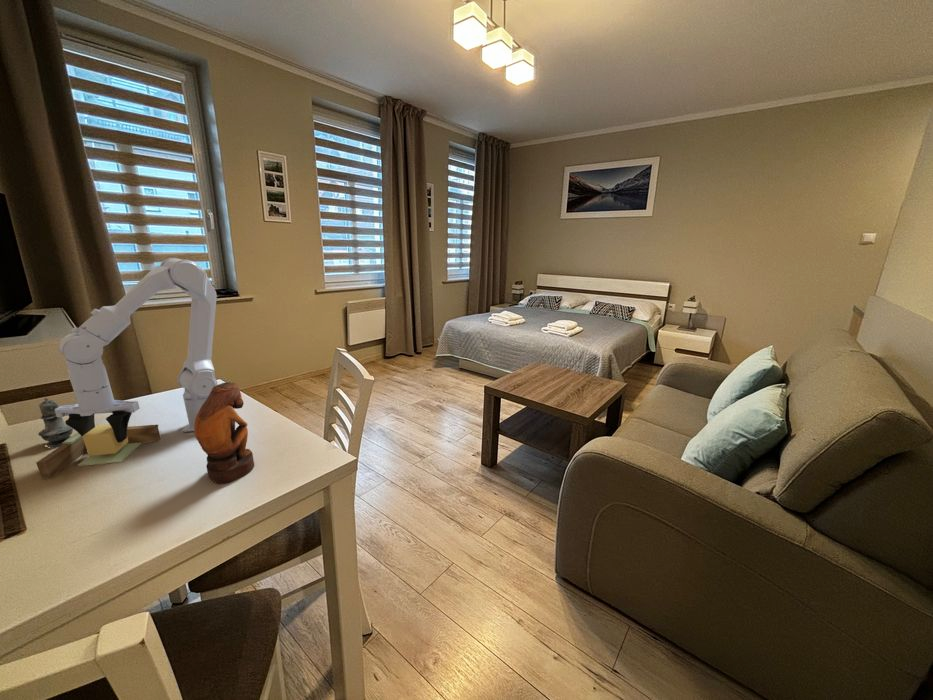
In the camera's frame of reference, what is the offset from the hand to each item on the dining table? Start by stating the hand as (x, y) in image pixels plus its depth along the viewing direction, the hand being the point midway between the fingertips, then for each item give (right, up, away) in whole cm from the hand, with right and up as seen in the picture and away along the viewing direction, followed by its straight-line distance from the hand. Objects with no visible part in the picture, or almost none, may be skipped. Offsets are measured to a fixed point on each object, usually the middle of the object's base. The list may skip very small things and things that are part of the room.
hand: (107, 441), depth 85 cm
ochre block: (0, -2, 0) cm, 2 cm away
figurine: (+31, -6, -3) cm, 32 cm away
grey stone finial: (-17, -2, +5) cm, 17 cm away
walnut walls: (0, -4, 0) cm, 4 cm away
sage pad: (0, -3, +1) cm, 3 cm away
